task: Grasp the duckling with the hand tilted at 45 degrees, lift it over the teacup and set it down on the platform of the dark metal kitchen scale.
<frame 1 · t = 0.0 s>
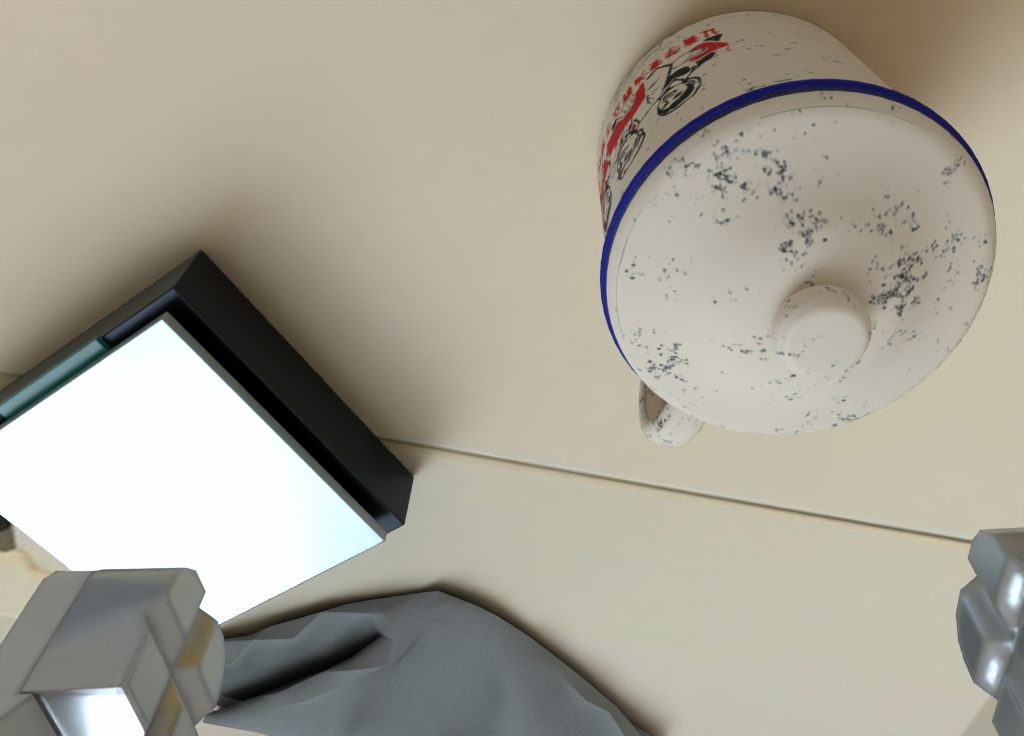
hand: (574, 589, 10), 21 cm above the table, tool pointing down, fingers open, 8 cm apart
scale: (201, 441, 36), on the table
teacup with lid: (712, 190, 30), on the table
cloth: (410, 680, 43), on the table
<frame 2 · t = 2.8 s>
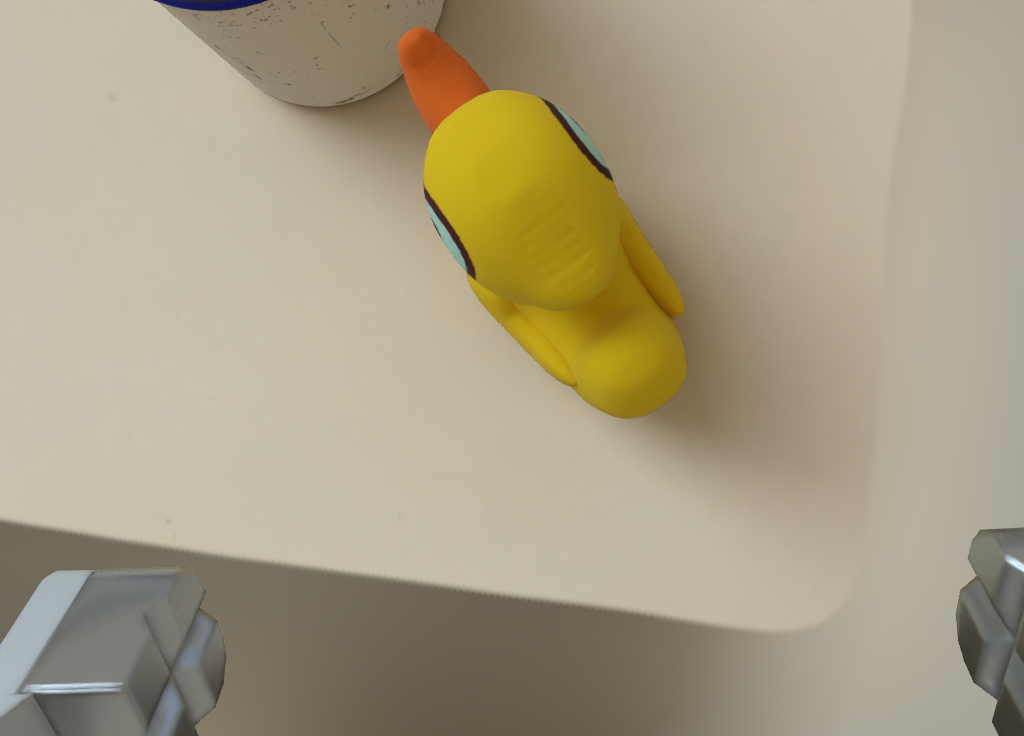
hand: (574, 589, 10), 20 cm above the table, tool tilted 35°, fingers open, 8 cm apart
duckling: (566, 275, 31), on the table
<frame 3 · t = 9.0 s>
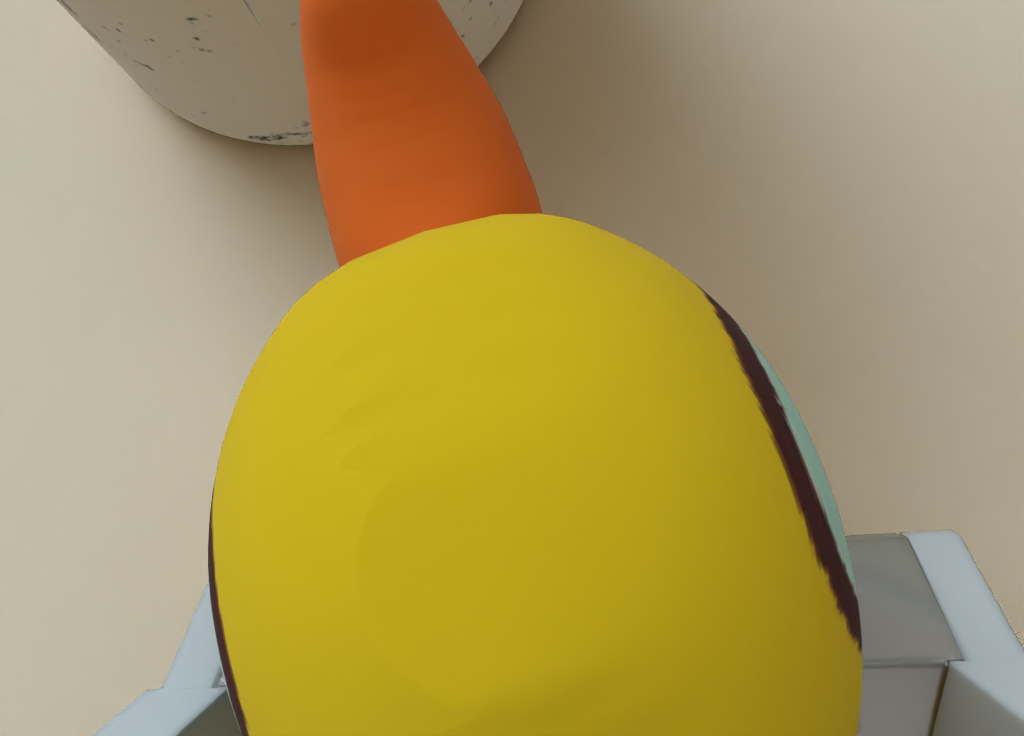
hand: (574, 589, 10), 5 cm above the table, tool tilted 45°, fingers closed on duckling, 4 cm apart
duckling: (584, 622, 14), on the table, touching gripper
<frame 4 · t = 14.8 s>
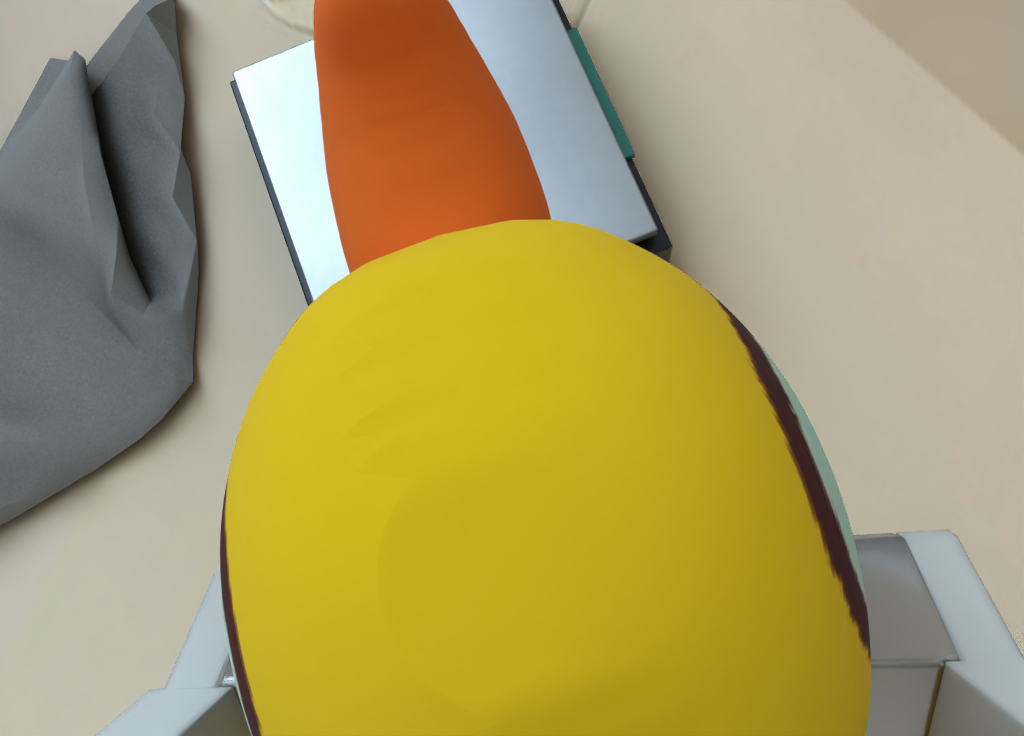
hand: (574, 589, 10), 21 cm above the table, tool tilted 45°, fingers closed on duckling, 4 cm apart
scale: (453, 192, 34), on the table
cloth: (50, 307, 35), on the table
duckling: (579, 625, 14), point 16 cm above the table, touching gripper
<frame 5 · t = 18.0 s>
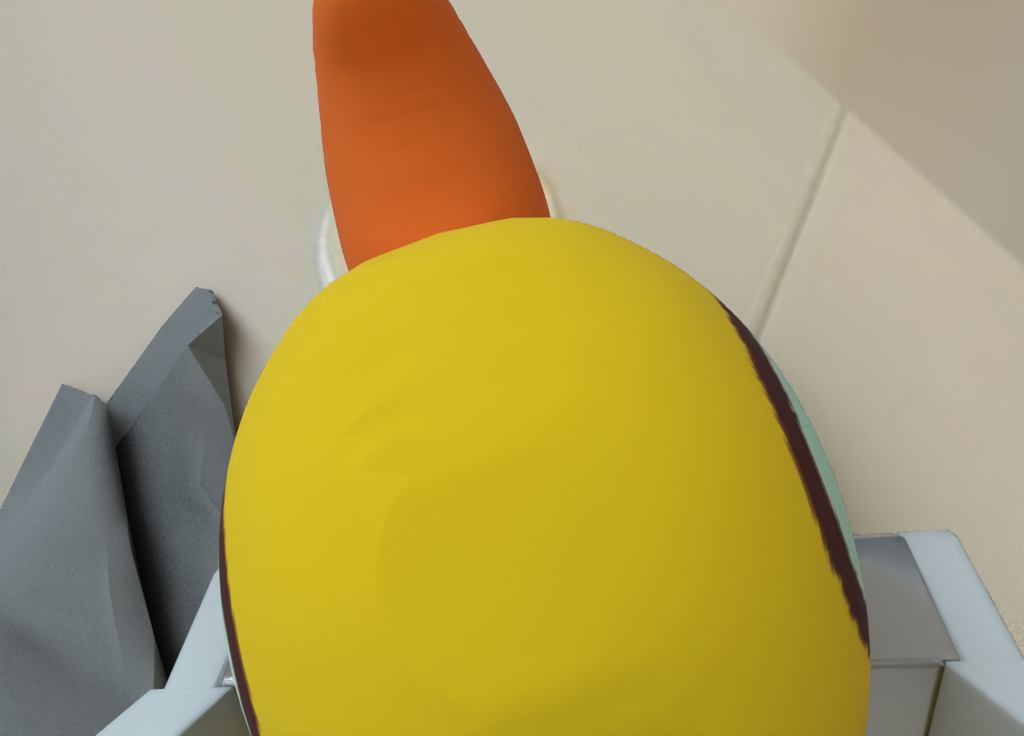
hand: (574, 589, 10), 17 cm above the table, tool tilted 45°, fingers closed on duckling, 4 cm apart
cloth: (65, 731, 27), on the table
duckling: (578, 624, 14), point 12 cm above the table, touching gripper
when the fingers open (9 cm above the table, at t = 20.6 s): duckling stays where it is, resting on scale.
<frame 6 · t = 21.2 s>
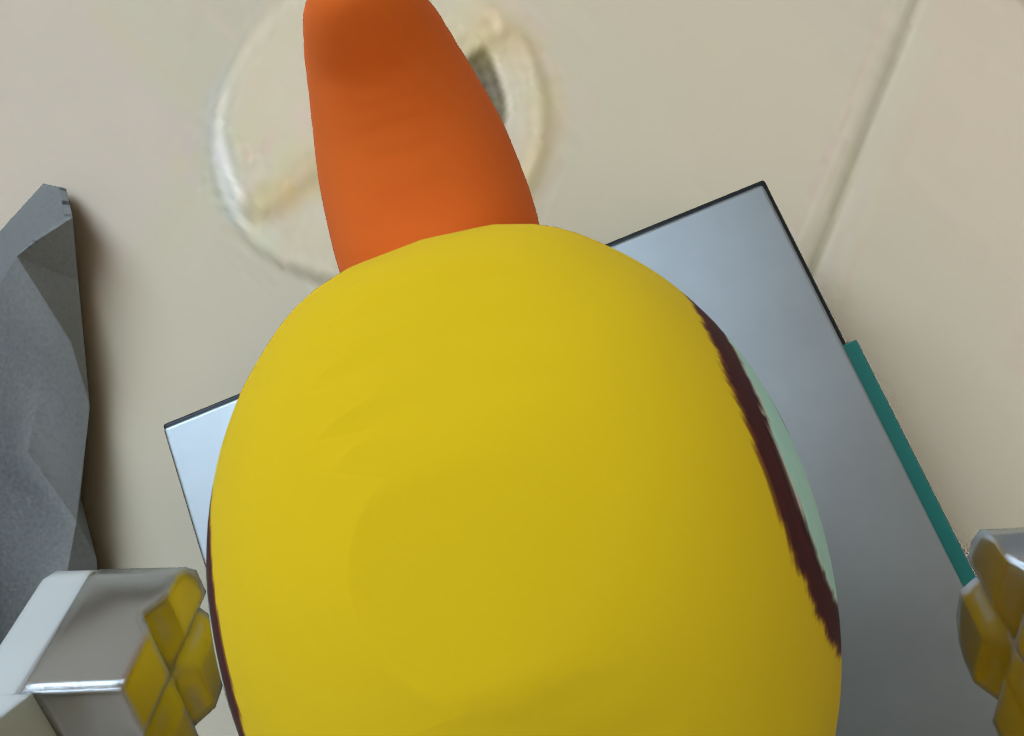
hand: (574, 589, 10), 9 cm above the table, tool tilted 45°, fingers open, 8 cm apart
scale: (588, 608, 18), on the table
duckling: (578, 622, 15), point 4 cm above the table, touching scale
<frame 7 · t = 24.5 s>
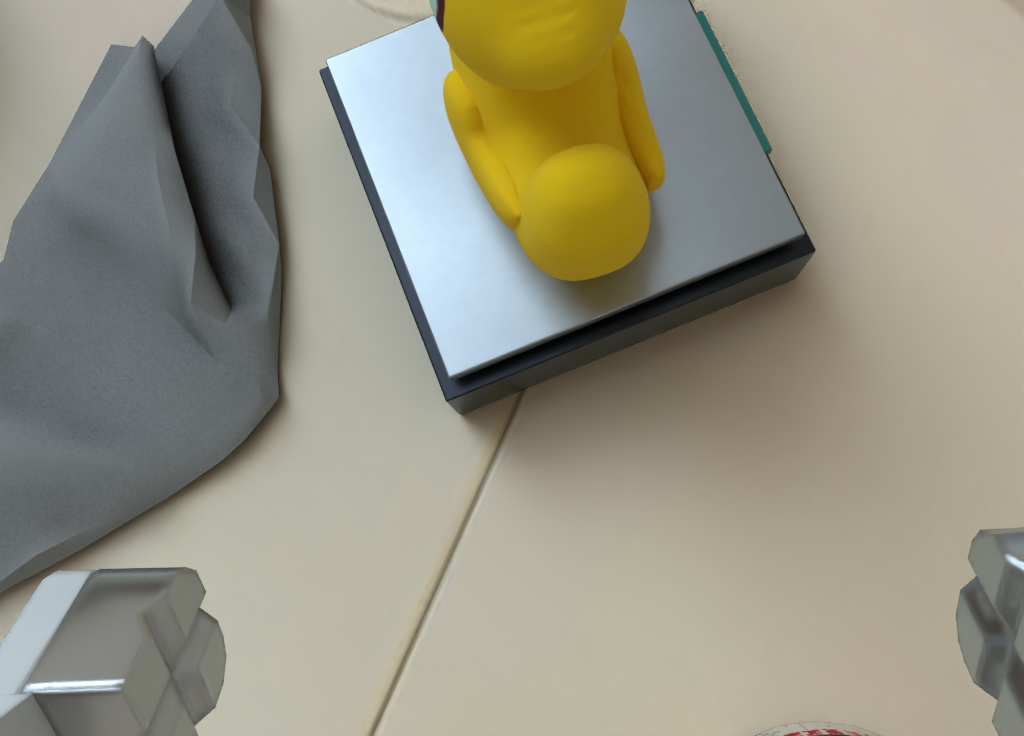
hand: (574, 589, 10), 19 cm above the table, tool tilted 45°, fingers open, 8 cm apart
scale: (559, 190, 31), on the table
cloth: (118, 315, 32), on the table
duckling: (550, 146, 28), point 4 cm above the table, touching scale
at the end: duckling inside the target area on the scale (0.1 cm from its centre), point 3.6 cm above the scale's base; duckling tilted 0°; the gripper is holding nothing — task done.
